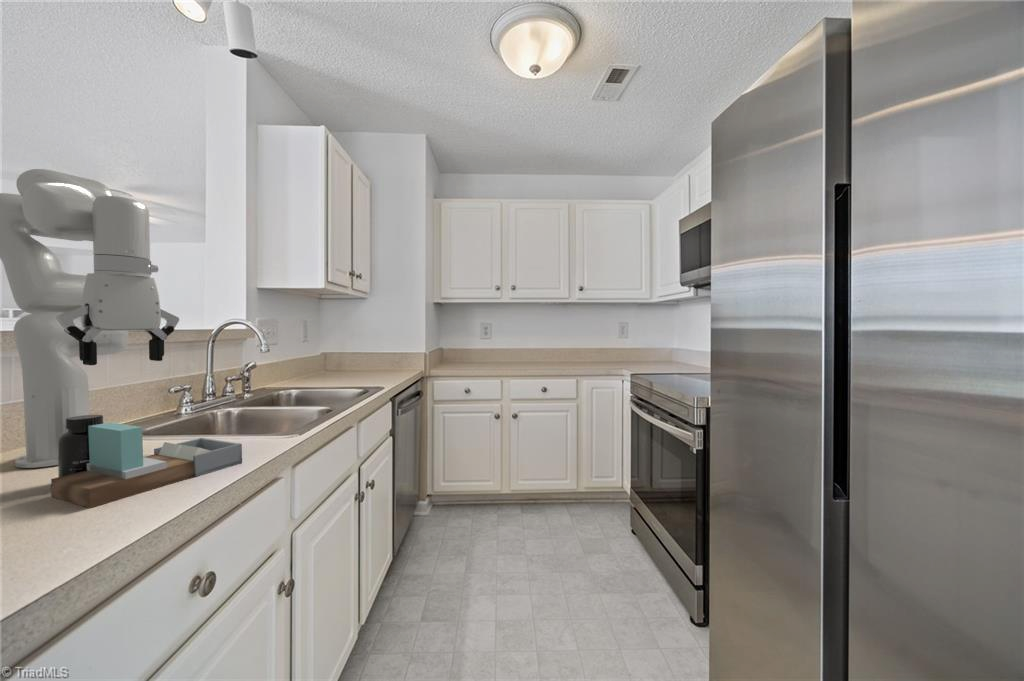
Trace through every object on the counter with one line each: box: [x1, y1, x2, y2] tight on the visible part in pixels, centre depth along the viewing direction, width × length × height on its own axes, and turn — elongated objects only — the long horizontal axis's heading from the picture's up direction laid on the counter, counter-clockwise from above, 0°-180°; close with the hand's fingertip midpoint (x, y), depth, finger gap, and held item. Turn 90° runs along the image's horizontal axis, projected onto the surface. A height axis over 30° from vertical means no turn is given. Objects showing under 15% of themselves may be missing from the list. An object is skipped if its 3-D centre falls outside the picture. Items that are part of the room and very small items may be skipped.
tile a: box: [158, 441, 182, 458], centre depth 86 cm, size 5×5×2 cm
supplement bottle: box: [57, 414, 104, 477], centre depth 78 cm, size 7×7×12 cm
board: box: [50, 454, 195, 509], centre depth 75 cm, size 12×15×3 cm
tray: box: [153, 437, 243, 478], centre depth 86 cm, size 13×9×4 cm
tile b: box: [176, 445, 210, 461], centre depth 84 cm, size 5×5×2 cm
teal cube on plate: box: [87, 422, 167, 479], centre depth 75 cm, size 12×6×8 cm, turn 67°
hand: (124, 362), depth 77 cm, fingers open, 9 cm apart
